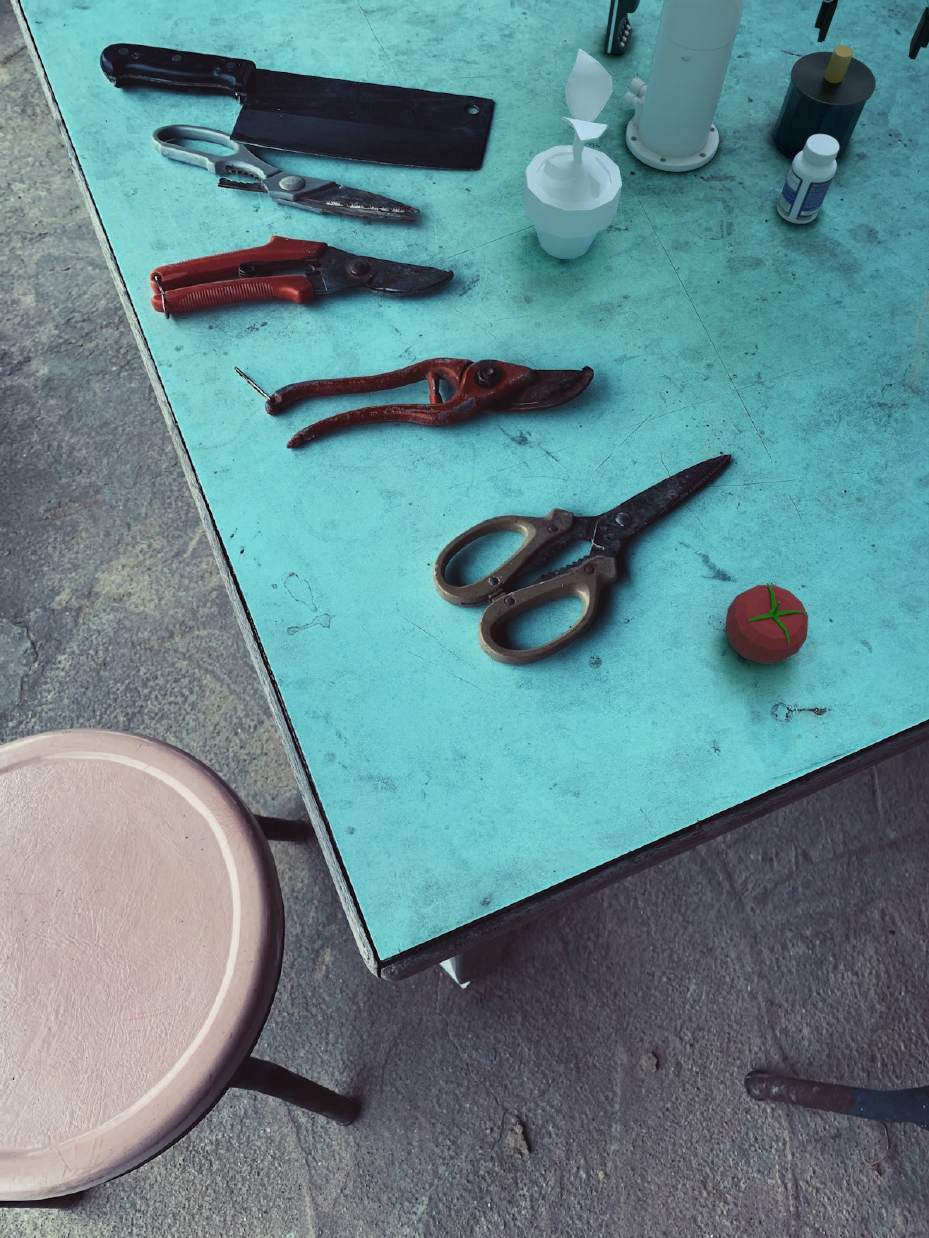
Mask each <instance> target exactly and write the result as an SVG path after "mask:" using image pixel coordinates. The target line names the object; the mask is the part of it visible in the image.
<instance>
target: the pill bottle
mask: <svg viewBox="0 0 929 1238" xmlns="http://www.w3.org/2000/svg"><path fill="white" fill-rule="evenodd" d="M838 150H839V143H838V142H837V140H836V139H834V138H833V137H831V136H829V135H825V134H815V135H812V136H811V137H809V138H808V140H807V142H806V144H805V147H804V149H803V150H802V151H801V152H799V153H798V154H797V155H796V156H795V158H794V160H792V163H791V165H790V168H789V171H788V174H787V176H786V179H785V182H784V184H783V187H782V190H781V193H780V195H779V199H778V201H777V205H776V209H777V213H778V214H779V215H780V216H781V218H783V219H784V220H785V221H788V222H789V223H793V224H797V225H802V224H803V225H804V224H808V223H811V222H813V221H814V220H815V219H816V218H817V216H818V213H819V212H820V210H821V207H822V206H823V203H824V201H825V199H826V196H827V193H828V191H829V189H830V186H831V184H832V182H833V179H834V177H835V175H836V172H837V169H838V163H837V160H835V158H836V156H837V153H838Z"/></svg>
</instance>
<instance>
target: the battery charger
mask: <svg viewBox="0 0 929 1238" xmlns="http://www.w3.org/2000/svg"><path fill="white" fill-rule="evenodd" d="M640 3H641V0H610V4H609V9H608V10H609V11H608V17H607V25H606V32H605V38H604V45H603V51H604V52H605V53H606V54H616V55H622V54H623V53H625V52H626V51H627V47H628V45H629V42H630V40H631V37H632V34H633V27H632V26H631V23H630V19H629V14H634V13H636V11H637V10H638V8H639V5H640Z"/></svg>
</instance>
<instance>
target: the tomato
mask: <svg viewBox="0 0 929 1238" xmlns="http://www.w3.org/2000/svg"><path fill="white" fill-rule="evenodd" d="M808 628H809V615H808V612H807V611H806V609H805V606H804V603H803V602H802V601H801V600H800V599H799V598H798V597H797V596H796V595H795V594H794V593H793V592H791V591H790V590H788V589H785V588H783V587H780V586H778V585H775V584H769V582H766V584H757V585H755V586H753V587H750V588H749V589H747V590H744V591H743V592H741V593H739V594H737V595H736V596H735V597H734V599H733V600H732V602H731V603H730V604H729V605H728V607H727V611H726V617H725V628H724V629H725V630H724V631H725V634H726V636H727V640H728V642H729V644H730V647H732V649H734V650H735V651H736V652H737V653H738V654H739V655H740V656H741V657H742V658H744V659H746V660H749V661H750V662H754V663H756V664H759V665H772V664H773V665H774V664H778V663H780V662H782V661H784V660H787V659H789V658H790V657H792V656H793V655H796V654H797V653H799V651H800V650H801V648H802V647H803V645H804V644H805V642H806V641H807V637H808V630H809V629H808Z"/></svg>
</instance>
